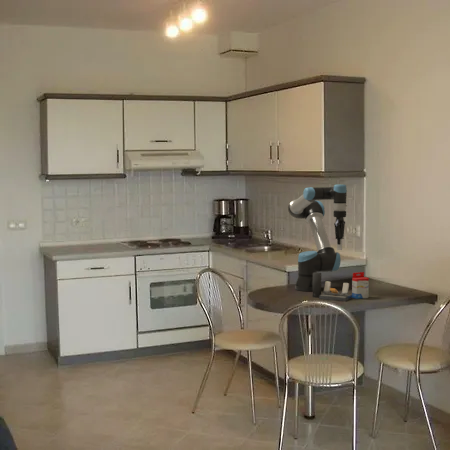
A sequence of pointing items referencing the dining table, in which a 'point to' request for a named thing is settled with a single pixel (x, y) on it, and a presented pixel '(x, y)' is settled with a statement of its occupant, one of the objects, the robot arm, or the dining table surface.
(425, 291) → the dining table surface
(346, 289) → the paddle right
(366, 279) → the ink box
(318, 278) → the post
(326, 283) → the paddle left
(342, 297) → the panel
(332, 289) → the block
